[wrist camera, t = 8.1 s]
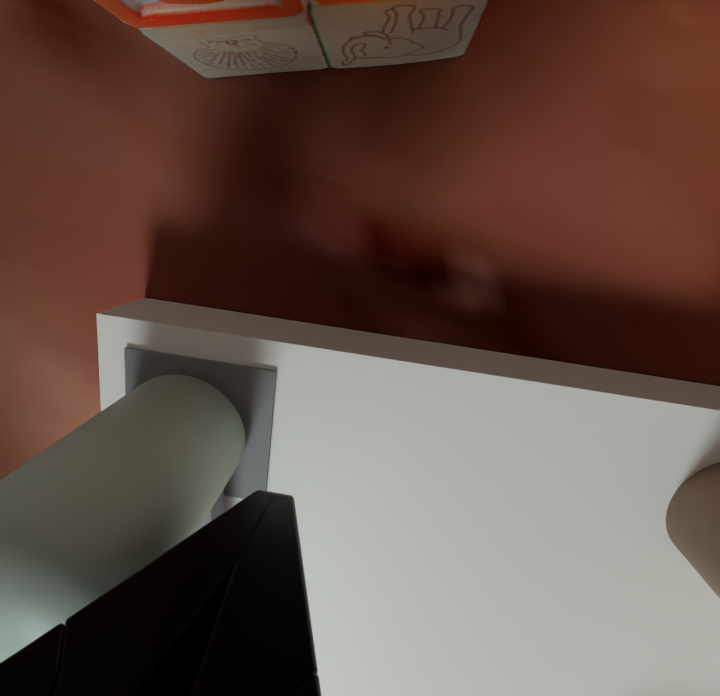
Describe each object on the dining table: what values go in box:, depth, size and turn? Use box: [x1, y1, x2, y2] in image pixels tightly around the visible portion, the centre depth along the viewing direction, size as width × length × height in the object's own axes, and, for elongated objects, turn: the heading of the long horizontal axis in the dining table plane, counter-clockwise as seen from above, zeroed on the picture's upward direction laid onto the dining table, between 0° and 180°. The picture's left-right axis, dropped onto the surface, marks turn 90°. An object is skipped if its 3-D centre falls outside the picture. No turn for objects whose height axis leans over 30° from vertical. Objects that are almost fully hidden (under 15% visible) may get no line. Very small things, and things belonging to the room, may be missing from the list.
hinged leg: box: [0, 374, 245, 663], centre depth 9 cm, size 9×3×5 cm, turn 174°
